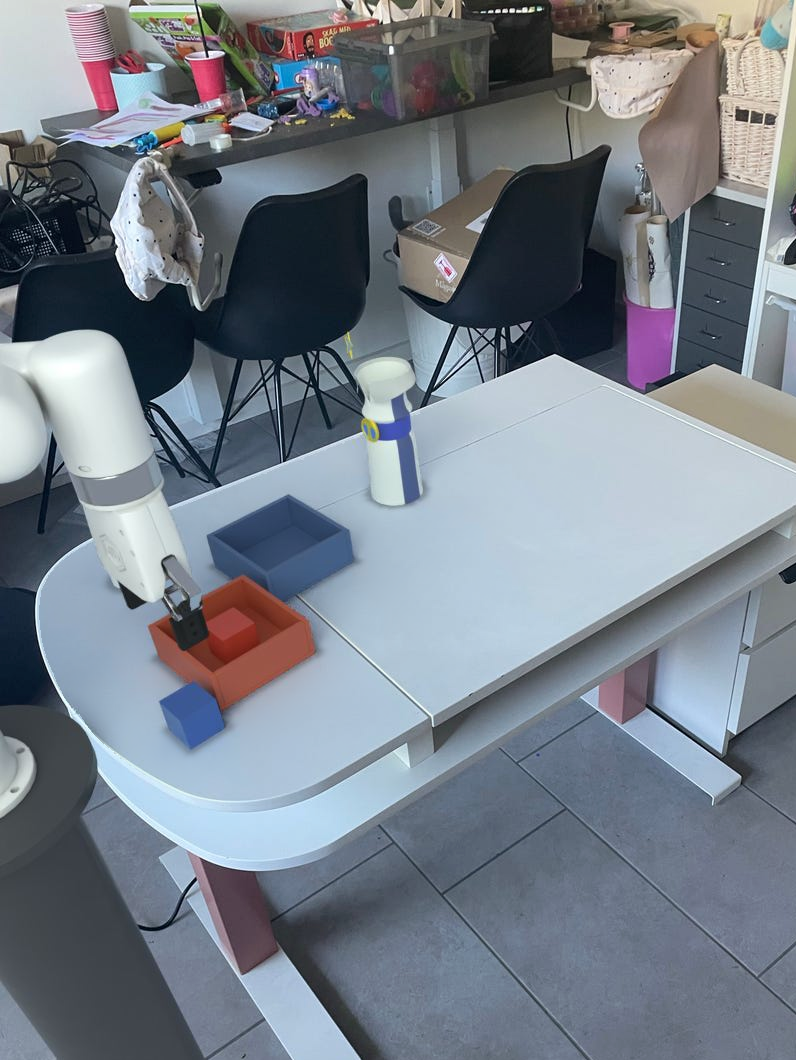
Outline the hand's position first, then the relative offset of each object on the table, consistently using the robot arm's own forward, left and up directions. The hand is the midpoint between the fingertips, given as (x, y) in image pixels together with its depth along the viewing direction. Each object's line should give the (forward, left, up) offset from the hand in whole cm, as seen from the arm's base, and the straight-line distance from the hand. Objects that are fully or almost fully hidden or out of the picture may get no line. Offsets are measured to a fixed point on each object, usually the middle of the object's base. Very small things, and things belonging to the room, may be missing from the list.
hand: (168, 622), depth 95 cm
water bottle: (+46, +20, -15) cm, 52 cm away
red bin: (+9, +7, -14) cm, 18 cm away
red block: (+9, +7, -14) cm, 18 cm away
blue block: (-1, 0, -14) cm, 14 cm away
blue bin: (+24, +18, -14) cm, 33 cm away
